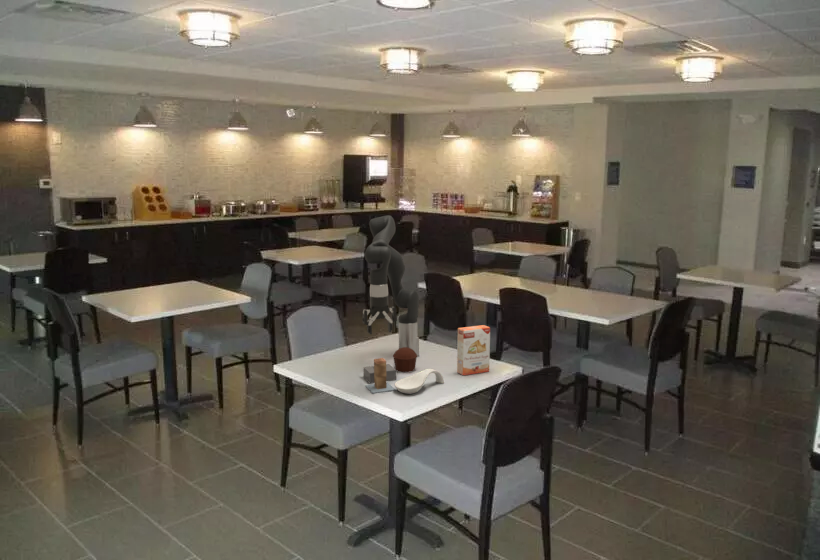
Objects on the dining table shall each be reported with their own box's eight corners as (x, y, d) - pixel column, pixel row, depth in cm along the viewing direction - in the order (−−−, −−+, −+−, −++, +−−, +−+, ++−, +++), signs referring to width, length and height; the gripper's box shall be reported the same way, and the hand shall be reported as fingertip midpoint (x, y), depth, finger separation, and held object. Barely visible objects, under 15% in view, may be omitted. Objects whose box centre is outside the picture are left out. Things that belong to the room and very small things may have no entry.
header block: (388, 373, 296) (388, 363, 295) (396, 379, 286) (396, 370, 286) (363, 376, 291) (363, 366, 291) (370, 383, 282) (369, 373, 281)
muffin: (392, 366, 307) (392, 345, 305) (415, 365, 308) (415, 344, 306) (394, 373, 295) (393, 352, 293) (418, 372, 296) (418, 351, 294)
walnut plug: (383, 385, 278) (382, 357, 276) (386, 388, 274) (386, 360, 272) (374, 386, 277) (373, 359, 275) (377, 389, 273) (377, 361, 271)
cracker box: (463, 376, 290) (463, 330, 287) (456, 372, 296) (456, 327, 292) (490, 371, 296) (490, 327, 293) (483, 368, 302) (483, 324, 298)
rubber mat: (387, 383, 282) (387, 382, 282) (395, 390, 273) (395, 389, 272) (365, 386, 278) (365, 385, 278) (372, 393, 269) (372, 392, 269)
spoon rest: (407, 398, 263) (407, 381, 262) (389, 391, 272) (388, 375, 271) (449, 385, 279) (449, 369, 277) (430, 379, 287) (430, 363, 286)
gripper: (392, 291, 275) (393, 328, 278) (359, 294, 270) (360, 332, 273) (398, 294, 269) (399, 333, 271) (365, 297, 264) (366, 336, 266)
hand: (379, 332), depth 272 cm, fingers open, 8 cm apart
